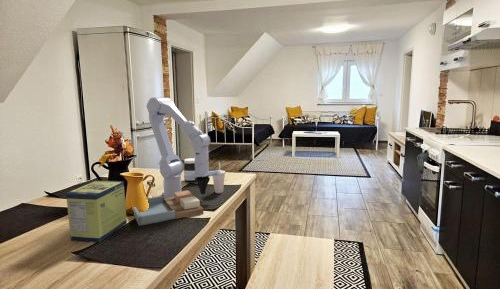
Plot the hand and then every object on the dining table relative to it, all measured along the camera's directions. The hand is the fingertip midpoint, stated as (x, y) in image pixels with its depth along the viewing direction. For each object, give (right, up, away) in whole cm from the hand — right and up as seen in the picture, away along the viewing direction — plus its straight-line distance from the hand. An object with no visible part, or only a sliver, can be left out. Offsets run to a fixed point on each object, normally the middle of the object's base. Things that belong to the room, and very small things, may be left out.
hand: (202, 193), depth 135 cm
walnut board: (-7, -4, -8) cm, 12 cm away
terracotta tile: (-7, -2, -4) cm, 9 cm away
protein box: (-30, -8, -29) cm, 43 cm away
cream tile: (-3, -3, -12) cm, 12 cm away
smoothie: (+6, -1, +12) cm, 13 cm away
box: (-17, -5, -14) cm, 23 cm away
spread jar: (-9, +1, +30) cm, 31 cm away
